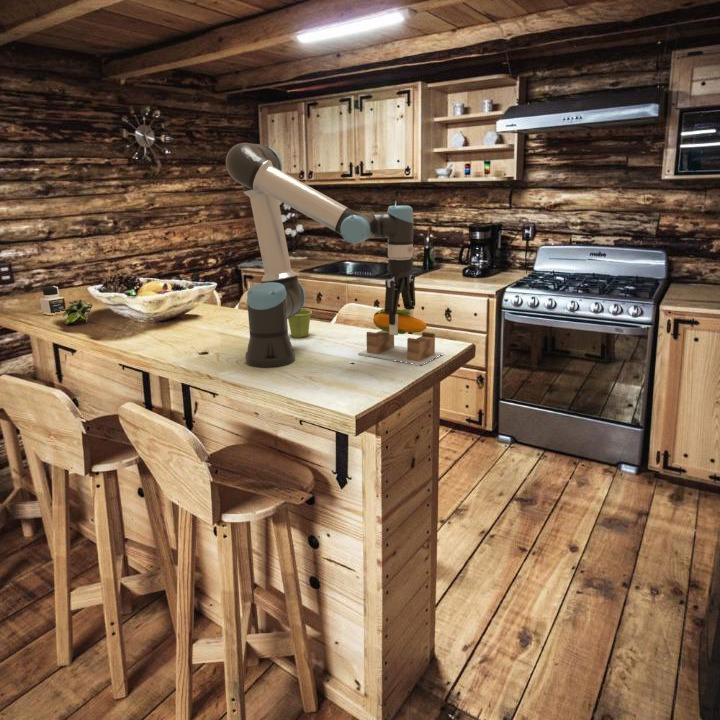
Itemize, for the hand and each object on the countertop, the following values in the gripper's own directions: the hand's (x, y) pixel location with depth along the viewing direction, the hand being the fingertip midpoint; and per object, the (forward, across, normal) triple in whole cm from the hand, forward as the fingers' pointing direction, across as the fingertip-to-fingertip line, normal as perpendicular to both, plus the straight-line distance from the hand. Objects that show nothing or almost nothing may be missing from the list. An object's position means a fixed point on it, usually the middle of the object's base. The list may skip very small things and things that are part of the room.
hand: (400, 331), depth 190 cm
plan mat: (+7, 0, 0) cm, 7 cm away
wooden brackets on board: (+7, 0, 0) cm, 7 cm away
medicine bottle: (+8, -24, +162) cm, 164 cm away
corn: (0, 0, 0) cm, 0 cm away
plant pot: (+8, +2, +44) cm, 45 cm away
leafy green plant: (+8, -28, +135) cm, 138 cm away
